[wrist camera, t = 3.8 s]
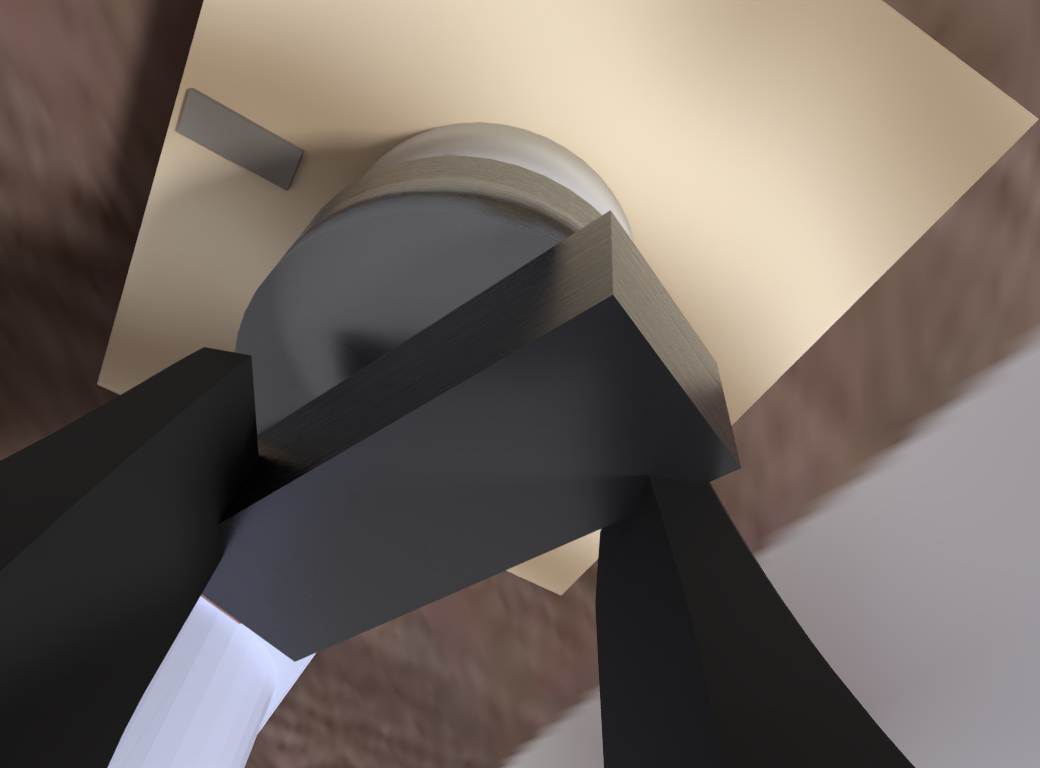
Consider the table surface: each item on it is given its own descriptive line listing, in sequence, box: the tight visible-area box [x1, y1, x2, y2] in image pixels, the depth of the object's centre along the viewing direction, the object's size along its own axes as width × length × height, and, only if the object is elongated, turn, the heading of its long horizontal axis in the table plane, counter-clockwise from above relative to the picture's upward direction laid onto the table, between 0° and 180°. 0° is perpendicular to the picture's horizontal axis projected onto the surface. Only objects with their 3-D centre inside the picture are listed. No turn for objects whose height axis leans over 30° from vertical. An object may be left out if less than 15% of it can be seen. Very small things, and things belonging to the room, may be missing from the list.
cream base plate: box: [97, 0, 1038, 595], centre depth 14 cm, size 14×12×4 cm
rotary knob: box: [201, 156, 741, 662], centre depth 11 cm, size 6×8×4 cm
